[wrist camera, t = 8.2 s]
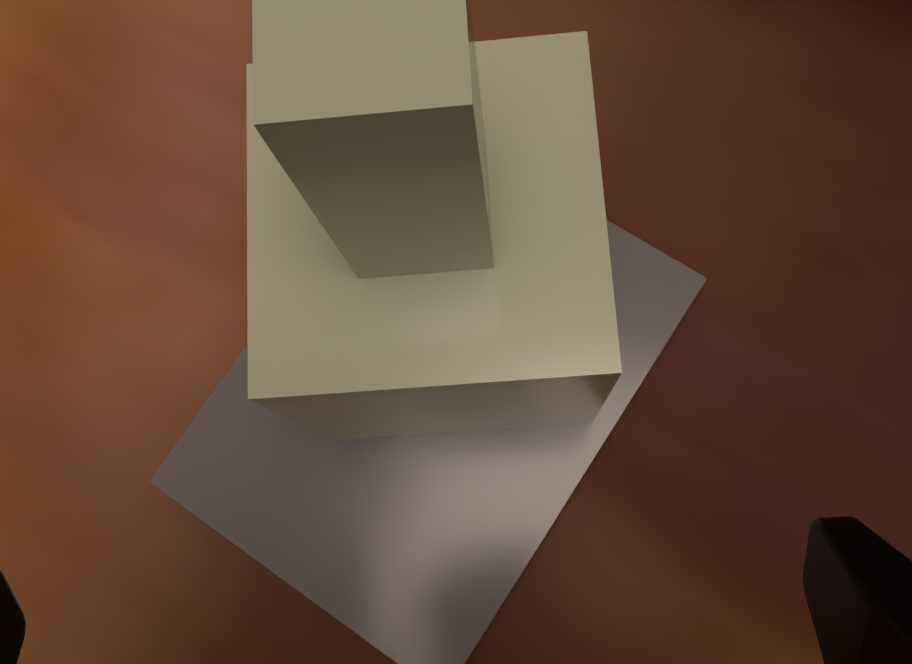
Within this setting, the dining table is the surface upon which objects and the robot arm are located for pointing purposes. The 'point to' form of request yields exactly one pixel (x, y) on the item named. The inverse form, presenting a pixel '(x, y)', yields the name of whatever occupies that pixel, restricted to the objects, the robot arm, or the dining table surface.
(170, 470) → the slate mat
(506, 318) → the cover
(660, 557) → the dining table surface
